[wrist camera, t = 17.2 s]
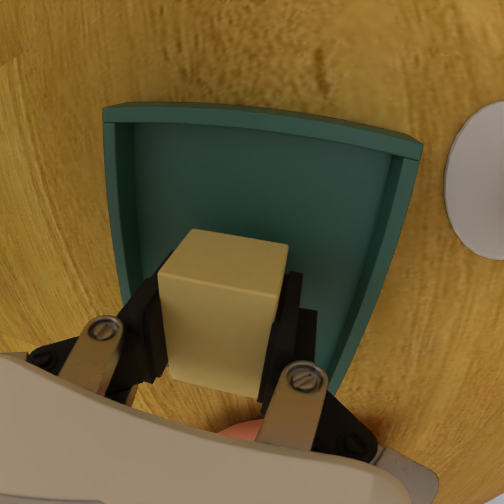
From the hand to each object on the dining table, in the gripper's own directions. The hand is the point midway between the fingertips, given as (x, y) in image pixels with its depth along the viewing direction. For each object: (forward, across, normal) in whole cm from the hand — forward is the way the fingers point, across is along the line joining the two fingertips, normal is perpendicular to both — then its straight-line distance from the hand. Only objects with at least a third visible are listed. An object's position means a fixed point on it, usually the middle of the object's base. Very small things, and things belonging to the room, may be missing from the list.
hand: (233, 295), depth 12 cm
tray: (+2, 0, 0) cm, 2 cm away
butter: (0, 0, 0) cm, 0 cm away
